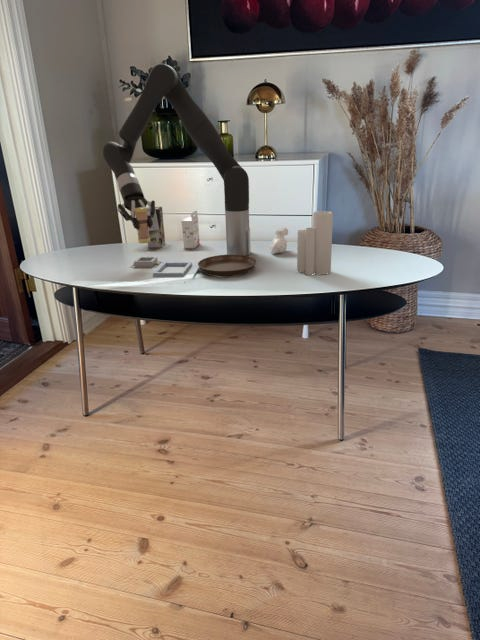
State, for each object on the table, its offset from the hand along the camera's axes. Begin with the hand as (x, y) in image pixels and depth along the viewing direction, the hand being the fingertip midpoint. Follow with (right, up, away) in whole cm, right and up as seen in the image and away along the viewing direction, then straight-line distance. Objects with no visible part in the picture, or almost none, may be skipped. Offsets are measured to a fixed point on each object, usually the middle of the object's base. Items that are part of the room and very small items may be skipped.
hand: (144, 227), depth 167 cm
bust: (+49, -6, +24) cm, 55 cm away
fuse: (-1, -5, +4) cm, 6 cm away
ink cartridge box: (+13, -1, +39) cm, 41 cm away
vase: (+58, -16, -5) cm, 61 cm away
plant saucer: (+29, -15, +2) cm, 33 cm away
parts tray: (+10, -17, -2) cm, 20 cm away
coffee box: (-3, 0, +43) cm, 43 cm away
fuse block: (-1, -14, +7) cm, 15 cm away
